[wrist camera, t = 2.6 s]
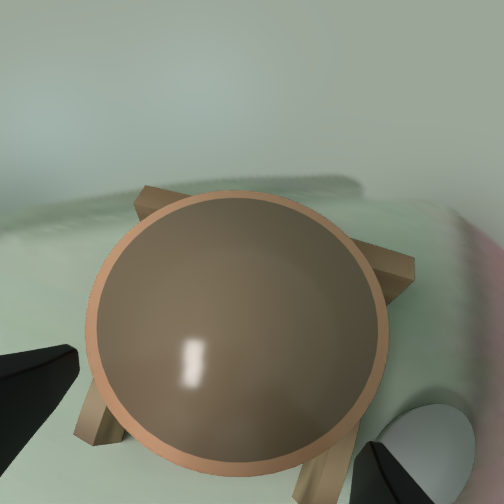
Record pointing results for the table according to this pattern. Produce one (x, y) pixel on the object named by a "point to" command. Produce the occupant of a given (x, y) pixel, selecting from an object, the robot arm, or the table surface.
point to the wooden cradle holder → (313, 471)
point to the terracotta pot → (237, 333)
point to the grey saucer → (433, 449)
